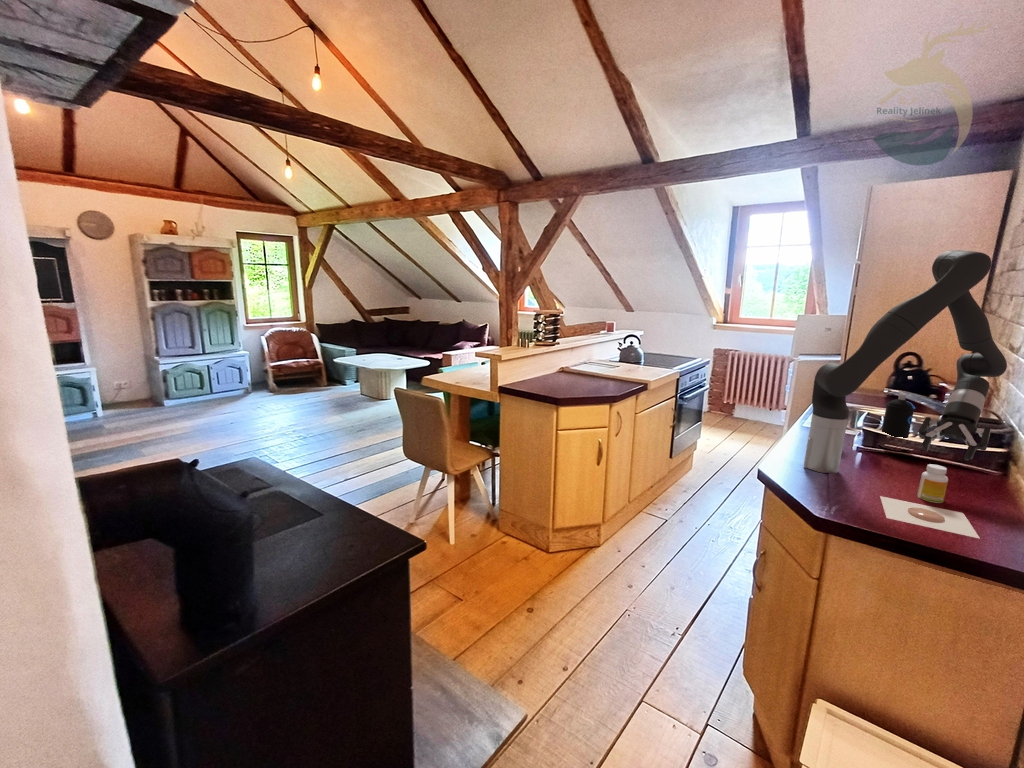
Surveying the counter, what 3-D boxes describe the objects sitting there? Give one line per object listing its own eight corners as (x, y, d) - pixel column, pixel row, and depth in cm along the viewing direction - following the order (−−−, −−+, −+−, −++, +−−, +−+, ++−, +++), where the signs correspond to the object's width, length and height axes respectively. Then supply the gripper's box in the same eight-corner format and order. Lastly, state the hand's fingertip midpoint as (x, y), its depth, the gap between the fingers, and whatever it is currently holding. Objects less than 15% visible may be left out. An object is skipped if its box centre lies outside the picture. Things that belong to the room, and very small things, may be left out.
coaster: (909, 517, 118) (910, 515, 118) (905, 506, 124) (905, 505, 124) (947, 525, 114) (947, 523, 114) (940, 513, 120) (941, 512, 120)
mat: (886, 520, 117) (886, 517, 117) (879, 498, 130) (879, 496, 130) (979, 541, 108) (980, 538, 108) (962, 515, 121) (963, 513, 121)
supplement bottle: (947, 506, 126) (955, 471, 124) (924, 503, 127) (932, 469, 125) (934, 497, 131) (942, 464, 129) (912, 495, 132) (919, 462, 130)
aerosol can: (881, 449, 170) (892, 395, 166) (874, 442, 177) (884, 390, 173) (910, 453, 167) (922, 397, 163) (901, 446, 174) (912, 393, 170)
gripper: (930, 395, 139) (912, 440, 135) (999, 406, 128) (981, 454, 124) (931, 410, 144) (913, 454, 139) (997, 422, 133) (980, 469, 128)
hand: (945, 454), depth 131 cm, fingers open, 8 cm apart
